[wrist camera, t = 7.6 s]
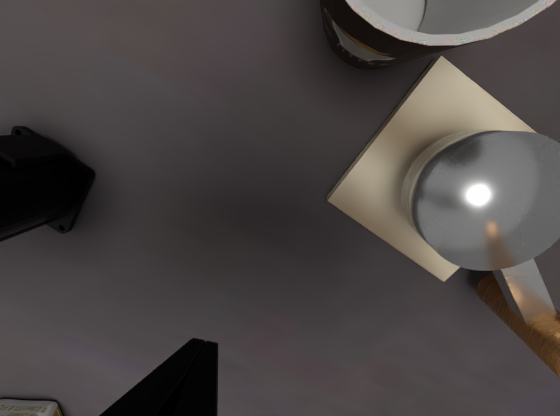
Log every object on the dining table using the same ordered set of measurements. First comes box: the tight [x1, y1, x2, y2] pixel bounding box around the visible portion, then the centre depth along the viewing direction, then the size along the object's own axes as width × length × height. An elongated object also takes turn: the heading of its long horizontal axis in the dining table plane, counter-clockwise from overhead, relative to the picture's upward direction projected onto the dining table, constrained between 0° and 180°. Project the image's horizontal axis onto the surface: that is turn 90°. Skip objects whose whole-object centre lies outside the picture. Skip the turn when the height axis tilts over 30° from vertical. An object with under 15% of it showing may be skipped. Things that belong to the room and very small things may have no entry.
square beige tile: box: [326, 56, 536, 282], centre depth 17 cm, size 11×11×3 cm
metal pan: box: [401, 130, 560, 378], centre depth 13 cm, size 14×7×10 cm, turn 32°
